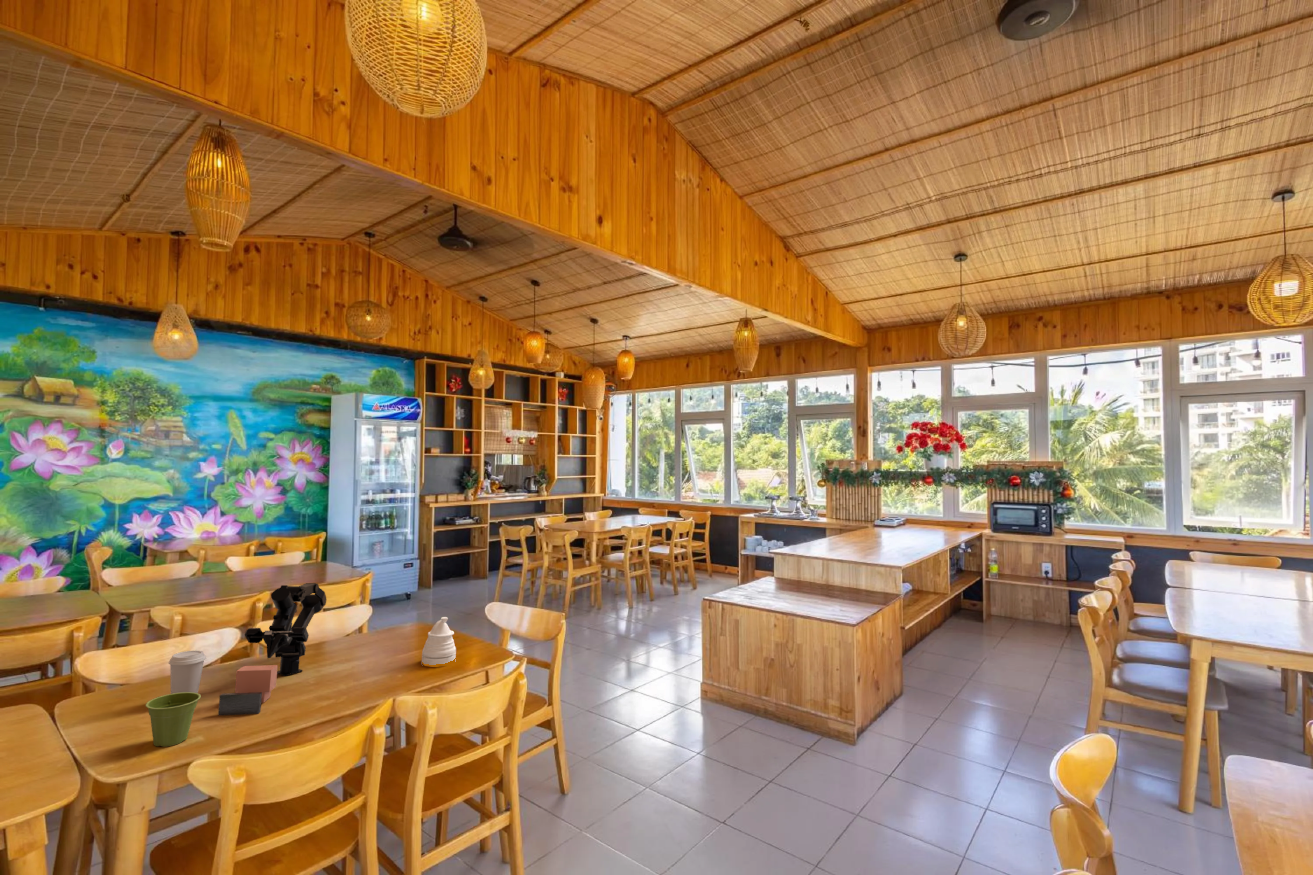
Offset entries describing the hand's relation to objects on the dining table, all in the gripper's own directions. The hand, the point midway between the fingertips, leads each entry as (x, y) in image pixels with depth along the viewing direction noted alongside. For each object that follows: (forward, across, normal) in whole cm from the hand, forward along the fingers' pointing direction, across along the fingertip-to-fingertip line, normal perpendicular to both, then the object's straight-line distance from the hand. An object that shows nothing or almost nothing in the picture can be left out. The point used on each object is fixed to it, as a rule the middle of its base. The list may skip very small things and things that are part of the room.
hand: (268, 657), depth 203 cm
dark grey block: (+17, 0, +1) cm, 17 cm away
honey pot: (-11, -52, -27) cm, 60 cm away
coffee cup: (+13, +21, -3) cm, 25 cm away
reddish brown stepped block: (+14, 0, -2) cm, 14 cm away
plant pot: (+35, +9, +18) cm, 40 cm away
